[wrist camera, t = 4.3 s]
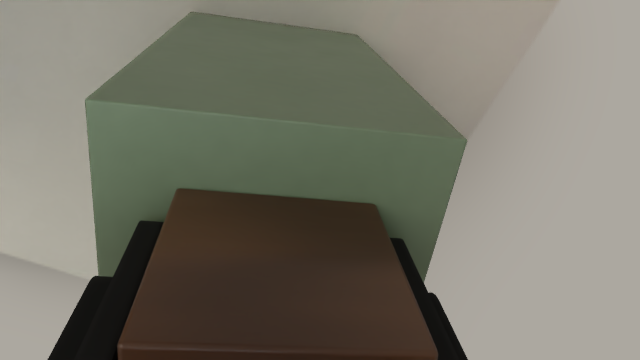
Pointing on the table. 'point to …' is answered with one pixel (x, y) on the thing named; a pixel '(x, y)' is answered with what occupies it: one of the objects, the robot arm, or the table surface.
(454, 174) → the block
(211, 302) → the block
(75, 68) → the table surface
